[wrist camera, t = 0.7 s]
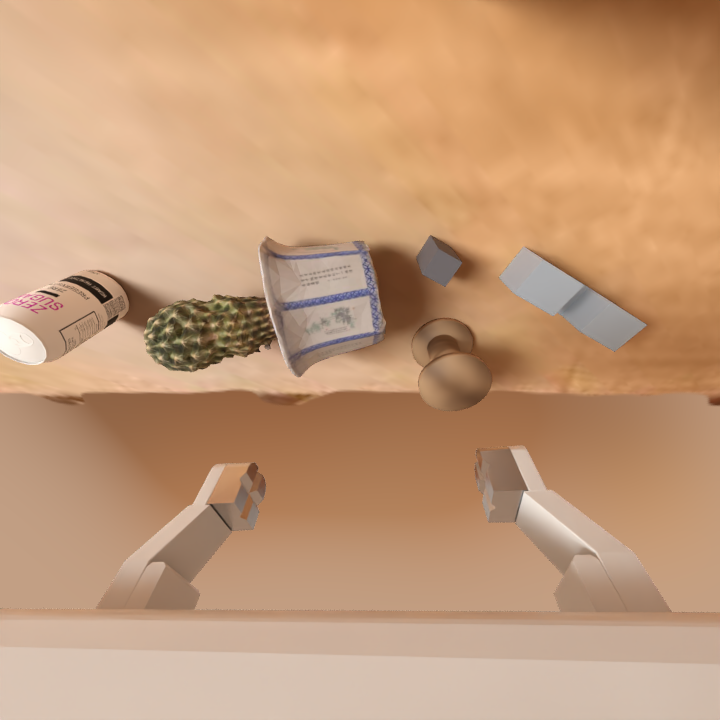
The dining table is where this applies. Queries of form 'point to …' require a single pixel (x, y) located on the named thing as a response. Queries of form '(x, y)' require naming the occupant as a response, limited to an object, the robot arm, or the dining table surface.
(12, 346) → the supplement can
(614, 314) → the gray stepped block
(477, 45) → the dining table surface
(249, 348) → the potted plant
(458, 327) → the wooden door knob
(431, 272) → the dark gray rectangular block
